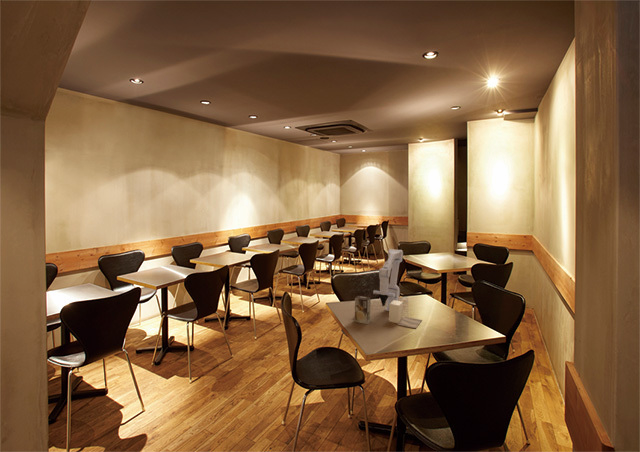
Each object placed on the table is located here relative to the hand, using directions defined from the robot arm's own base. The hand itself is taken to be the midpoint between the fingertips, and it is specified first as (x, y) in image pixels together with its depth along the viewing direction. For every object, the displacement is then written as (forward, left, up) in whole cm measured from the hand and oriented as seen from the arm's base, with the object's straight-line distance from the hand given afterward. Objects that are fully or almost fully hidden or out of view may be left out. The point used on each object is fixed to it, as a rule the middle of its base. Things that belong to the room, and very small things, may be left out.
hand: (383, 305), depth 226 cm
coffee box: (+14, -9, -9) cm, 19 cm away
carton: (0, +9, -8) cm, 12 cm away
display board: (0, +18, -8) cm, 20 cm away
